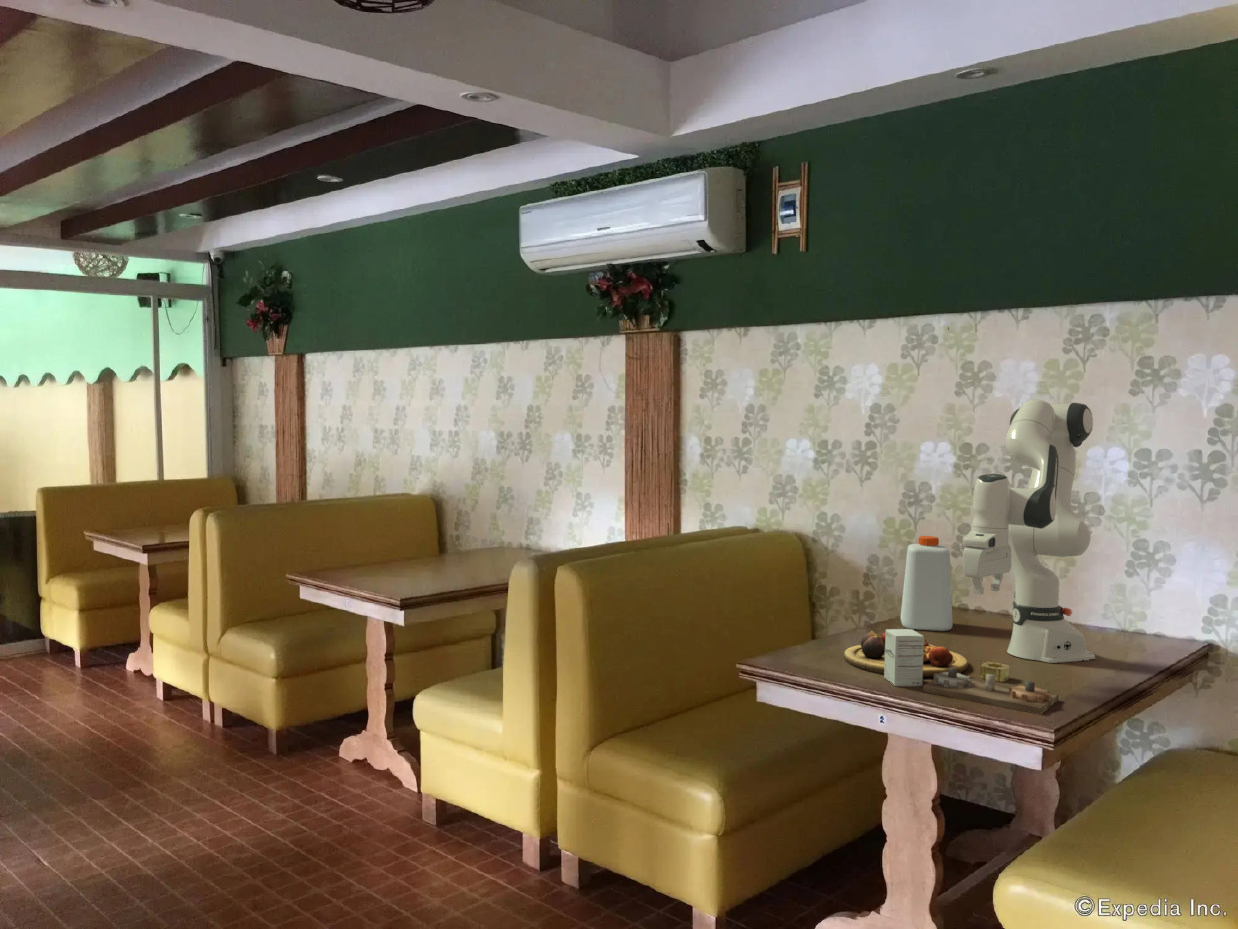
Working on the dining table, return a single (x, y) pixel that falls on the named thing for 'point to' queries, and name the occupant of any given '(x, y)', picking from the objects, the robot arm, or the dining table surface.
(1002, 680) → the brass gear
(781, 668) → the dining table surface
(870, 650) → the wooden plate with food
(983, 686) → the gear board
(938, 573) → the plastic bottle
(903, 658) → the supplement box
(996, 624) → the dining table surface
